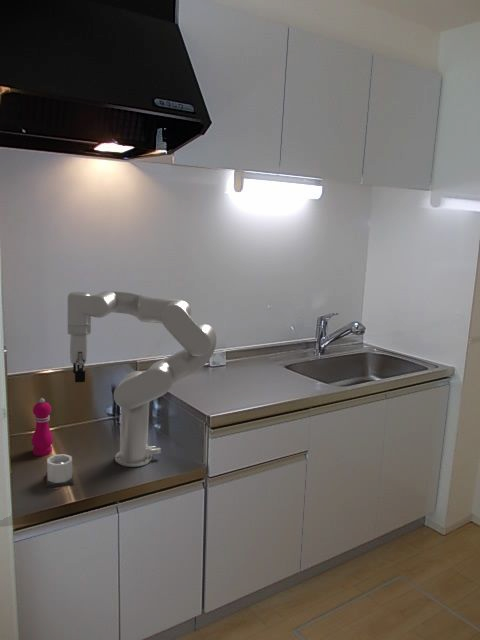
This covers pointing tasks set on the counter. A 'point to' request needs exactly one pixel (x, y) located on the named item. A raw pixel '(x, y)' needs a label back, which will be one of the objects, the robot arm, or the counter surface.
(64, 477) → the white hollow octagonal tube
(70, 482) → the duct stub
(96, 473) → the counter surface
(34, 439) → the pepper mill
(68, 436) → the counter surface
